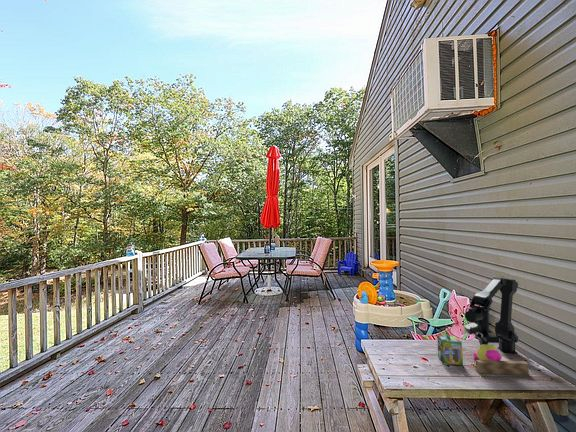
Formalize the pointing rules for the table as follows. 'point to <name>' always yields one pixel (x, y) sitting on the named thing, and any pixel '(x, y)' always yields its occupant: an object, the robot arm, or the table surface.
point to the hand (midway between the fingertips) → (482, 349)
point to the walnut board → (502, 367)
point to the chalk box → (449, 349)
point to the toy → (487, 353)
